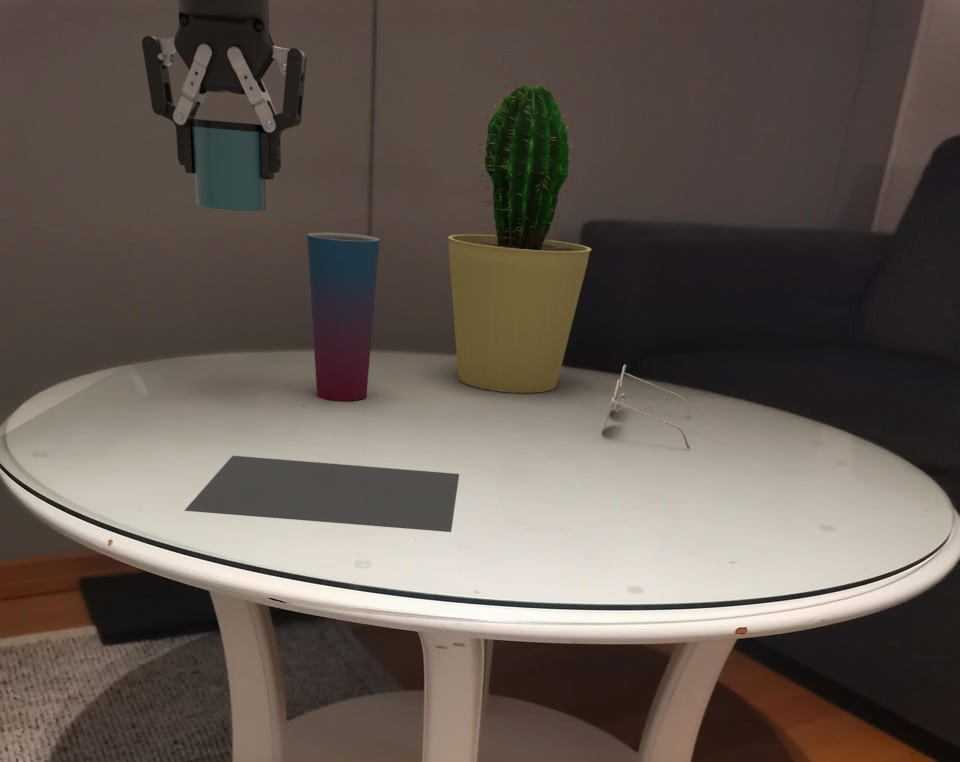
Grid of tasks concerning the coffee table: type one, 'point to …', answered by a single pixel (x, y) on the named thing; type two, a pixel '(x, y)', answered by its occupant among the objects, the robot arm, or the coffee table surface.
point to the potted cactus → (518, 256)
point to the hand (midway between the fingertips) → (229, 175)
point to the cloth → (331, 493)
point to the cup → (342, 311)
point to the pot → (228, 165)
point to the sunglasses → (620, 404)
